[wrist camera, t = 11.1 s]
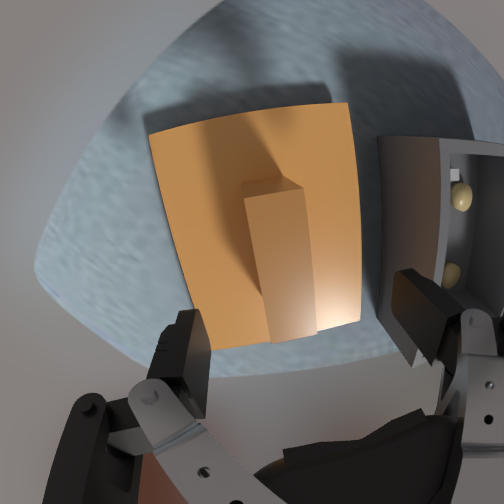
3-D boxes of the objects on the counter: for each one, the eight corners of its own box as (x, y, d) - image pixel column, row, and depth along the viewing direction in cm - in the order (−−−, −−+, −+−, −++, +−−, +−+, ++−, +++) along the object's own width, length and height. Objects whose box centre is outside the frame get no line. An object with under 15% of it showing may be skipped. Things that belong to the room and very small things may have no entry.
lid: (335, 106, 16) (388, 90, 10) (350, 305, 23) (385, 360, 16) (158, 136, 16) (114, 132, 10) (211, 333, 23) (206, 398, 16)
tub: (475, 140, 17) (529, 149, 10) (463, 288, 23) (501, 322, 16) (377, 136, 17) (438, 138, 10) (376, 318, 23) (411, 368, 16)
